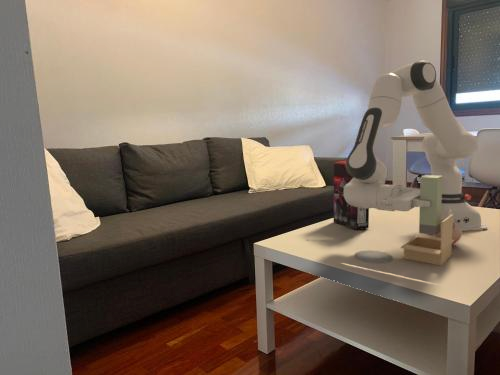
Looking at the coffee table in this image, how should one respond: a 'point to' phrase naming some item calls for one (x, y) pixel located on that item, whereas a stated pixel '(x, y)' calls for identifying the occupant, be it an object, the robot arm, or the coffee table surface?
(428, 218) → the tall box
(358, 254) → the slate mat
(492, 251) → the coffee table surface
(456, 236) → the decorative fruit
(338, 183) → the graphics card box
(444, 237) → the wooden open tray
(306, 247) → the coffee table surface
